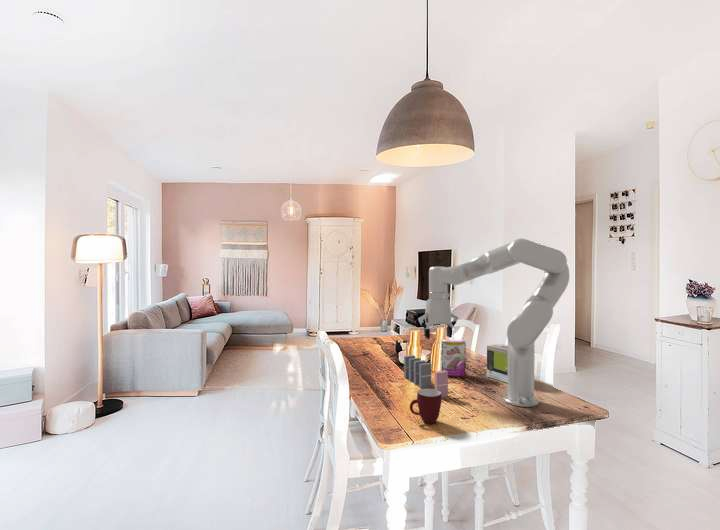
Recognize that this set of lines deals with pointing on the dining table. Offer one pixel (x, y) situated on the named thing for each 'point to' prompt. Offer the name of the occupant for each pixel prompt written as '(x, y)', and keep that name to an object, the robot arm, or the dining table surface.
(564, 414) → the dining table surface
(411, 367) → the domino
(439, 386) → the plum domino
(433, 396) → the mug
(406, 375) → the domino
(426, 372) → the domino
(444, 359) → the candy bar box
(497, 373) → the grey toy television
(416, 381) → the domino
